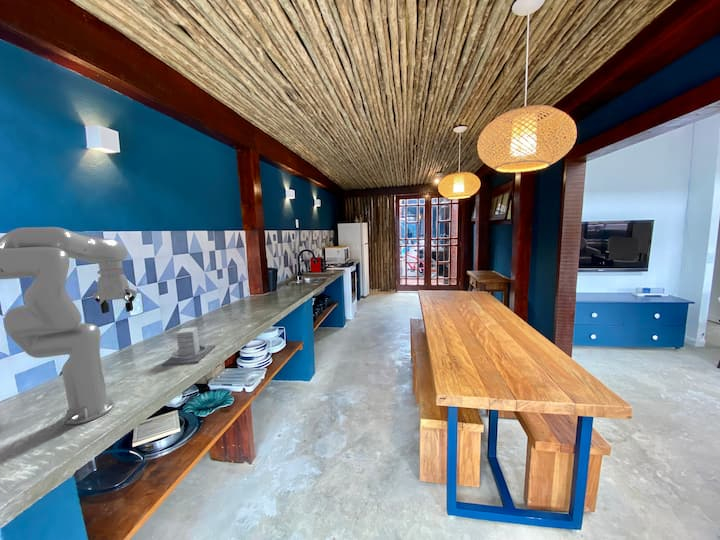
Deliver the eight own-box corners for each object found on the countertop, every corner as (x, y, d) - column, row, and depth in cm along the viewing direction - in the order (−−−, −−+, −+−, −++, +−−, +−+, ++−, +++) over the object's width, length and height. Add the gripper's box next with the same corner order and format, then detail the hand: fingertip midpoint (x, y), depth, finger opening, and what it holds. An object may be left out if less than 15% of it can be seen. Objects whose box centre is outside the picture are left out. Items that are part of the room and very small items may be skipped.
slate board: (198, 363, 135) (197, 361, 134) (162, 365, 133) (162, 363, 133) (215, 346, 154) (215, 344, 154) (184, 349, 153) (184, 347, 153)
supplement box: (184, 352, 146) (181, 328, 144) (200, 350, 148) (197, 326, 146) (179, 358, 139) (175, 333, 137) (195, 355, 141) (192, 331, 139)
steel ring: (199, 359, 137) (199, 356, 137) (165, 361, 135) (165, 358, 135) (212, 346, 152) (212, 343, 152) (182, 348, 151) (182, 346, 150)
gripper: (82, 275, 117) (89, 315, 119) (127, 272, 118) (133, 312, 121) (97, 272, 124) (103, 310, 126) (139, 270, 126) (144, 308, 128)
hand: (117, 311), depth 124 cm, fingers open, 9 cm apart
